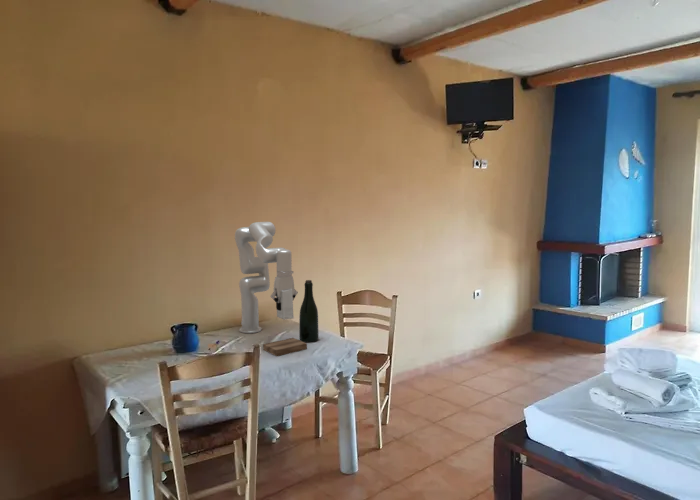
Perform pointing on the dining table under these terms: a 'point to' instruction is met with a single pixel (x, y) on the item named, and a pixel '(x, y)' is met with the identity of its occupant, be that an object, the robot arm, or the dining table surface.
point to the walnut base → (285, 346)
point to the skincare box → (286, 305)
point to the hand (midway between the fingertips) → (284, 308)
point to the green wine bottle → (308, 316)
